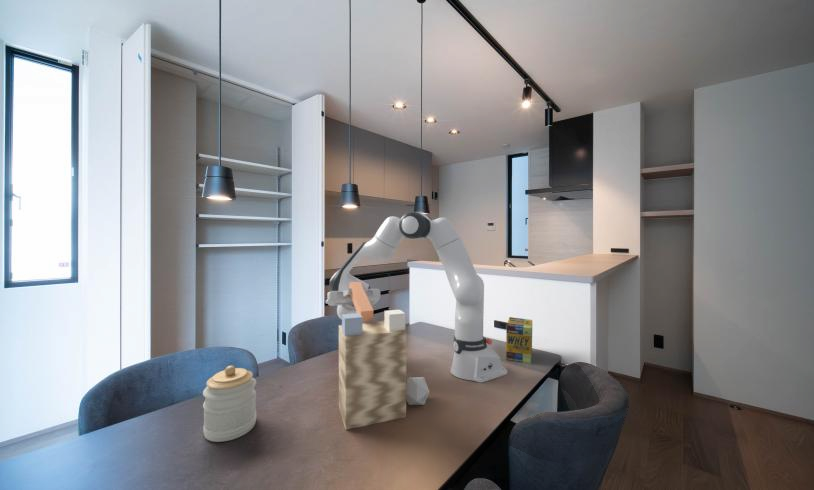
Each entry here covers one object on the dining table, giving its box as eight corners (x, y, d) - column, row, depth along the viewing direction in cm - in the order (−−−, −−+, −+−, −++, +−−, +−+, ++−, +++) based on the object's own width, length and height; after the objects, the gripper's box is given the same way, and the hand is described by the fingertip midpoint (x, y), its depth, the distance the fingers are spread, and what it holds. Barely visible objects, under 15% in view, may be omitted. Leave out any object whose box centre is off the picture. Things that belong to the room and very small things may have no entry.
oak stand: (392, 396, 106) (393, 320, 105) (406, 416, 94) (406, 330, 93) (338, 406, 99) (338, 325, 98) (345, 429, 88) (345, 337, 87)
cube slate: (358, 329, 94) (358, 313, 94) (362, 334, 90) (362, 317, 89) (342, 331, 92) (341, 314, 92) (344, 336, 88) (344, 318, 88)
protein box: (505, 360, 137) (506, 325, 137) (508, 348, 151) (509, 316, 151) (531, 364, 133) (532, 328, 133) (532, 351, 147) (532, 319, 147)
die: (420, 415, 96) (436, 385, 99) (397, 398, 98) (413, 370, 100) (419, 410, 104) (434, 383, 107) (397, 395, 105) (412, 369, 108)
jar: (219, 450, 79) (218, 380, 79) (194, 432, 86) (193, 369, 86) (266, 423, 90) (265, 363, 90) (240, 410, 97) (239, 353, 97)
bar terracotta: (359, 290, 121) (360, 281, 120) (372, 321, 103) (373, 310, 101) (349, 291, 120) (349, 282, 118) (360, 322, 101) (361, 311, 100)
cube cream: (399, 325, 99) (399, 309, 99) (405, 329, 94) (405, 313, 94) (384, 326, 97) (384, 310, 97) (389, 331, 92) (389, 314, 92)
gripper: (324, 296, 124) (327, 283, 113) (374, 292, 132) (382, 280, 120) (325, 311, 122) (328, 299, 110) (376, 307, 129) (384, 296, 117)
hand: (357, 289), depth 115 cm, fingers closed on bar terracotta, 4 cm apart
